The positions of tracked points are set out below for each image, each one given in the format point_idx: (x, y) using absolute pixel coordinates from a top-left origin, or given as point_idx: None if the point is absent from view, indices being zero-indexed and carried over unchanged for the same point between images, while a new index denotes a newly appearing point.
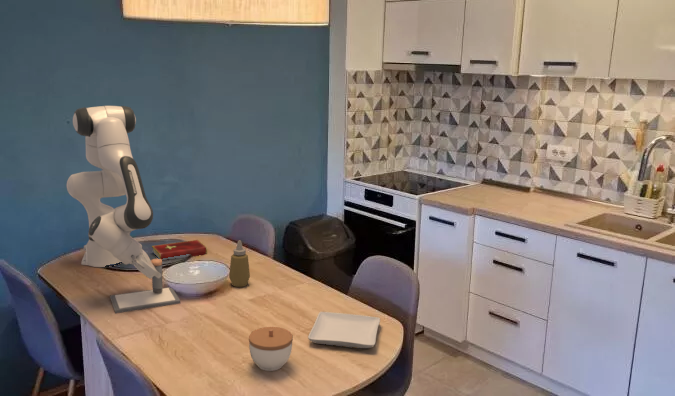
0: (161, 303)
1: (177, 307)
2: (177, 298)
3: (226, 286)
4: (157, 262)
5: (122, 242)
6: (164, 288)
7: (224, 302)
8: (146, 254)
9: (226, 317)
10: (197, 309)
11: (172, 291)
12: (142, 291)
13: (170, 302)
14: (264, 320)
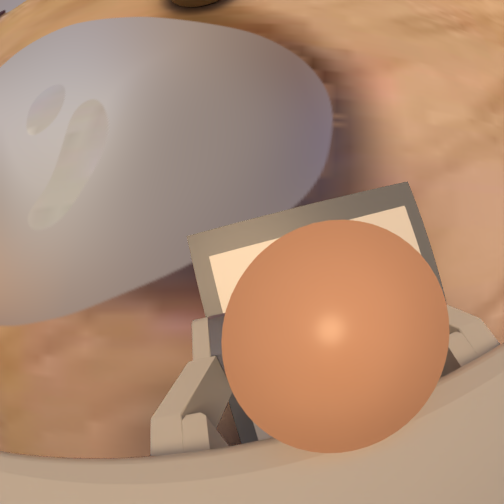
0: (439, 282)
1: (444, 202)
2: (379, 195)
3: (207, 19)
4: (441, 307)
5: None
6: (216, 281)
7: (376, 34)
8: (16, 490)
9: (482, 60)
10: (452, 123)
11: (267, 227)
12: (243, 418)
13: (426, 233)
14: (468, 3)
